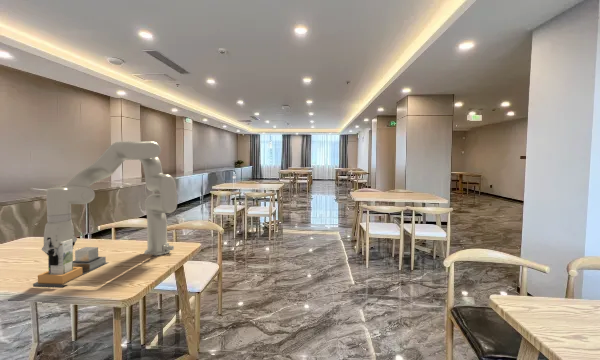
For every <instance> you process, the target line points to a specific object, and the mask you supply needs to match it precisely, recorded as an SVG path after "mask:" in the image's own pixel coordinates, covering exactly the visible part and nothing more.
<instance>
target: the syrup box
mask: <svg viewBox="0 0 600 360" xmlns="http://www.w3.org/2000/svg"><path fill="white" fill-rule="evenodd" d="M49 247H50V246H49ZM52 247H53V246H52ZM52 251H54V249H52ZM73 253H74V246H73V242H72V239H70V240H67V241H64V242H61V243H60V247H59V248H58V251H57V254H56V255H58V265H57V266H53V265H49V256H48V255H47V257H48V258H47V260H48V261H47V262H48V271H49V275H63V274H65V273H68V272H70V271H72V270H73V261H74V254H73Z"/></svg>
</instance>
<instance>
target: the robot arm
mask: <svg viewBox="0 0 600 360" xmlns="http://www.w3.org/2000/svg"><path fill="white" fill-rule="evenodd" d="M161 152H162V148H161V146H160V145H159V143H157V142H156V141H153V140H151V141H148V140H147V141H129V140H128V141H116V142H113V143H112V144H111V145H109V147H108V148H106V150H105V151H104V152H103V153H102V154H101V155H100V156H99V157H98V158H97V159H96V160H95V161H94V162H93V163H91V164H90V165H89V166H87V167H86V168H84V169H83V170H81V171H80V172H78V173H77V174H76V175H75V176H73V177H72V178H71V179H70V180H69V181H68V182H67V183H66V184H65V185H64V187H63V186H62V187H60V186H58V187H57V186H56V187H49V188H47V190H46V192H45V194H46V196H45V197H46V218H47V219H46V220H47V223H45V225H44V232H43V246H42V247H41V251H42V252H43V253H45V255H46V256H47V257H48V256H49V265H53V266H57V265H58V255H56V254H57V251H58V248H59V247H60V243H61V242H64V241H67V240H70V239H72V242H73V247H74V246H75V243H76V242H77V240H78V238H77V237H76V236H75V230H74V228H75V227H74V224H73V219H72V205H86V204H89V203H91V202H92V201H93V200H94V199H95V196H96V193H95V190H94V189H92V188H91V187H90V186H92V185H93V184H95V183H97V182H99V181H102V180H104V179H107V178H109V177H111V176H112V175H113V174H115V172H116V171H117V169H118V168H119V167H120V166H121V165H122V164H123V163H124V162H125V161H129V160H130V161H131V160H133V161H136V160H139V162H141V164H142V167H143V170H144V171H143V173H144V180H145V187H146V189H147V190H148V191H150V192H154V193H152V194H150V195H148V196H147V197H146V199H144V200H145V201H144V208H145V212H146V221H147V223H146V224H147V225H146V230H147V232H146V235H147V239H146V240H147V249H145V250H144V251H143V253H144V255H152V256H153V257H154V256H163V255H166V254H169V253H170V252H171V251H174V250H175V246H174V245H170V243H169V242H168V221H167V219H168V218H167V215H166V214H171V213H174V212H175V211H176V209H177V208H178V194H177V193H178V192H177V183H176V180H175V178H174V177H173V176H172V175H170V174H168V173H167V174H166V173H164V172H163V168H162V162H161V160H160V158H159V157H160V155H161ZM155 192H156V193H155ZM49 246H50V247H49ZM52 246H53V247H52ZM52 249H54V251H52Z"/></svg>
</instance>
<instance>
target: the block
mask: <svg viewBox="0 0 600 360" xmlns="http://www.w3.org/2000/svg"><path fill="white" fill-rule="evenodd" d="M74 254H75V256H74V257H75V258H74V259H75V263H90V262H93V261H95V260H97V259H98V257H99V247H96V246H84V247H82V248H79V249H76V250H74Z"/></svg>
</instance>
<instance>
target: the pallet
mask: <svg viewBox="0 0 600 360" xmlns="http://www.w3.org/2000/svg"><path fill="white" fill-rule="evenodd" d="M109 263H110V262H107V261H106V256H98V259H97V260H95V261H93V262H90V263H75V260H74V259H73V270H72V271H70V272H68V273H65V274H63V275H49V270H47V271H44V272H42V273H40V274H38V275H37V281H36V282H34V283H32V287H34V288H65V287H68V286H69V284H68V283H69V282H72V281H74V280H75V279H78V278H80V277H83V276H85V275H86V274H88V273H91V272H92V271H95V270H97V269H98V268H99V269H100V268H101V267H103V266H105V265H107V264H109Z"/></svg>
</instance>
